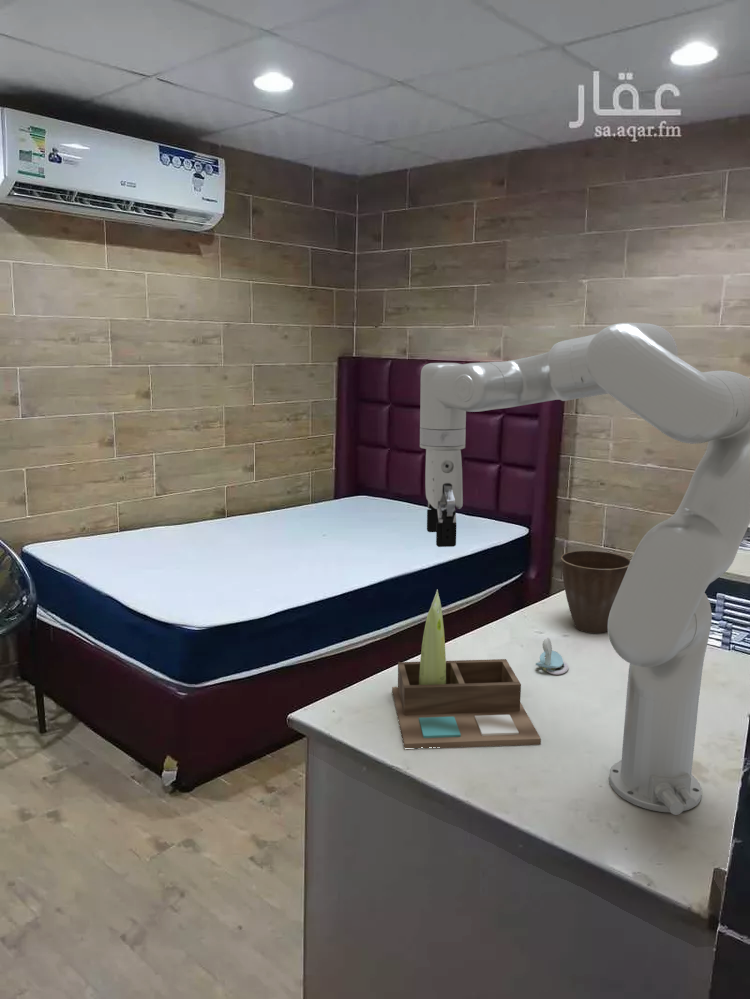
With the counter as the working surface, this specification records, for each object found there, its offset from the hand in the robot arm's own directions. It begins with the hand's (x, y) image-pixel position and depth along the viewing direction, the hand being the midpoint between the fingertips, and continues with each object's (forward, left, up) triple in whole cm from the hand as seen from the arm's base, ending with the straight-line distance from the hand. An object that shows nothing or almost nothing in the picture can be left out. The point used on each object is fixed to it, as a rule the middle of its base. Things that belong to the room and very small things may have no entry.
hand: (440, 538), depth 130 cm
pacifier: (+13, -25, -31) cm, 42 cm away
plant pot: (+34, -40, -31) cm, 61 cm away
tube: (-1, +1, -30) cm, 30 cm away
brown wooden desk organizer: (-5, -3, -30) cm, 31 cm away
